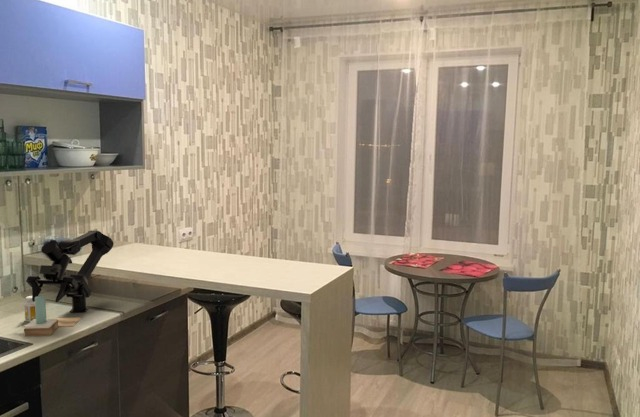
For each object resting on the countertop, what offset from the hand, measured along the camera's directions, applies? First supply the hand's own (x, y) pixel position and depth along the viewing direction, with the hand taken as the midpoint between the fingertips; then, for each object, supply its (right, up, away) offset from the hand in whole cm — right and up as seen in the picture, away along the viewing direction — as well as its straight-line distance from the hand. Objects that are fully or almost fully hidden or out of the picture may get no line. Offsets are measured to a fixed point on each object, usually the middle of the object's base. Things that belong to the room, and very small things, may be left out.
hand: (44, 301), depth 209 cm
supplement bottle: (-11, -10, +12) cm, 19 cm away
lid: (0, -8, -2) cm, 9 cm away
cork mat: (+3, -10, +9) cm, 14 cm away
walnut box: (0, -11, -2) cm, 12 cm away
